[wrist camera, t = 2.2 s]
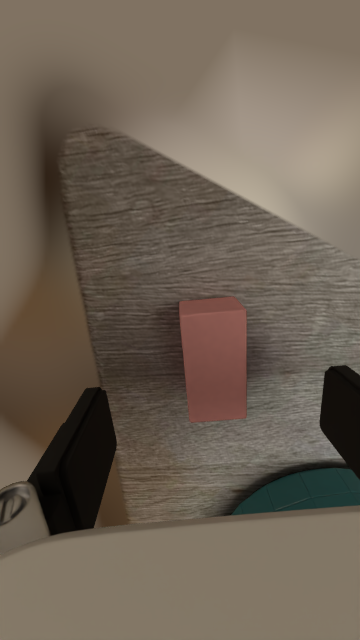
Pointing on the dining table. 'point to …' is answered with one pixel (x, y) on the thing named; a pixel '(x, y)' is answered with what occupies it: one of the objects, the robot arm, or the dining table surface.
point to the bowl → (305, 492)
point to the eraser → (215, 358)
